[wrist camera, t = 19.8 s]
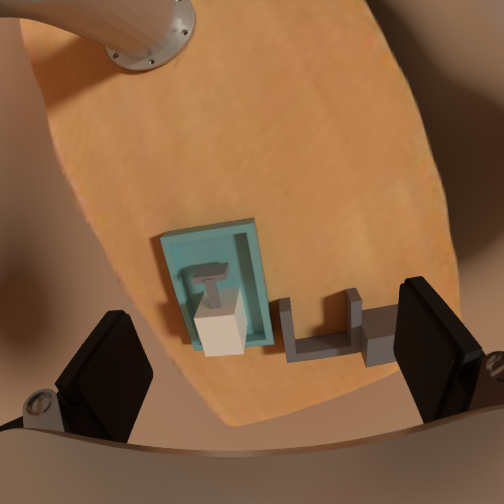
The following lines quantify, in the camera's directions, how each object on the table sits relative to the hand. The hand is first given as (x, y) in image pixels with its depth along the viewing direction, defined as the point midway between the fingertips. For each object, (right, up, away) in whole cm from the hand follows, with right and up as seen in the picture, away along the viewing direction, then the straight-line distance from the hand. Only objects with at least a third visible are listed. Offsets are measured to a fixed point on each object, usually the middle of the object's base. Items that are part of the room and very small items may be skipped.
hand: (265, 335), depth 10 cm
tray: (-5, -2, +33) cm, 33 cm away
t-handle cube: (-4, -3, +33) cm, 33 cm away
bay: (+13, -7, +34) cm, 37 cm away
